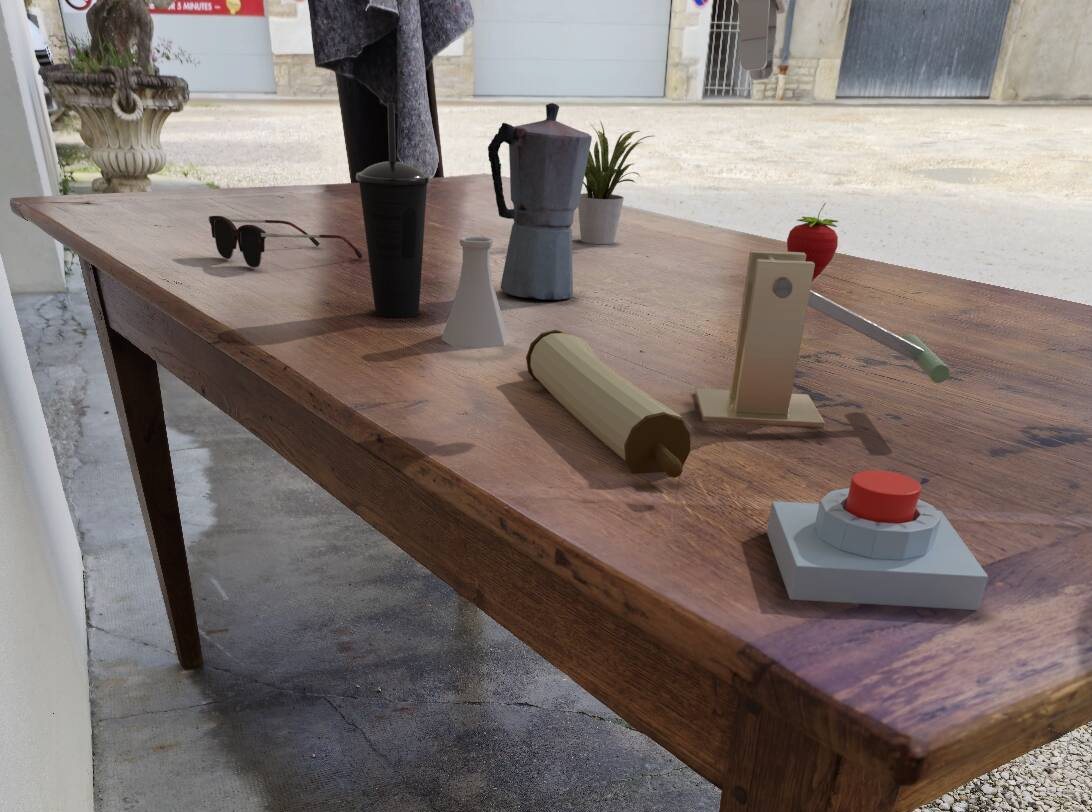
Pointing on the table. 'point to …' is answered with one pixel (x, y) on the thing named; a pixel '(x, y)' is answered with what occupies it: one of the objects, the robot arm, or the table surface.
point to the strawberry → (814, 241)
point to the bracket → (767, 347)
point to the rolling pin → (610, 405)
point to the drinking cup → (394, 230)
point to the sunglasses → (253, 238)
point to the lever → (883, 336)
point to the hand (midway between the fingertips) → (757, 74)
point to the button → (883, 497)
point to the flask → (475, 301)
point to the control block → (872, 557)
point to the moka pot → (540, 203)
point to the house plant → (603, 191)
